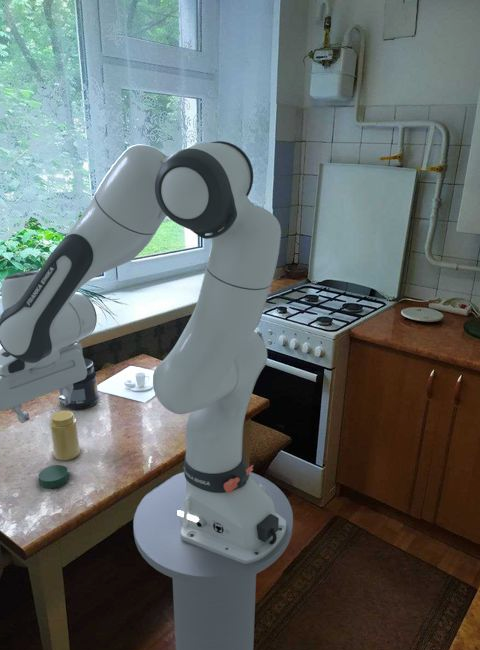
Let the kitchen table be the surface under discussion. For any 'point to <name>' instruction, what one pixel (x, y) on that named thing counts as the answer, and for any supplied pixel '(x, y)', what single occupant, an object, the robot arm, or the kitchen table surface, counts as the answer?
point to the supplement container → (84, 389)
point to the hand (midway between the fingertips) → (45, 412)
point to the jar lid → (53, 476)
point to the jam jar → (64, 435)
